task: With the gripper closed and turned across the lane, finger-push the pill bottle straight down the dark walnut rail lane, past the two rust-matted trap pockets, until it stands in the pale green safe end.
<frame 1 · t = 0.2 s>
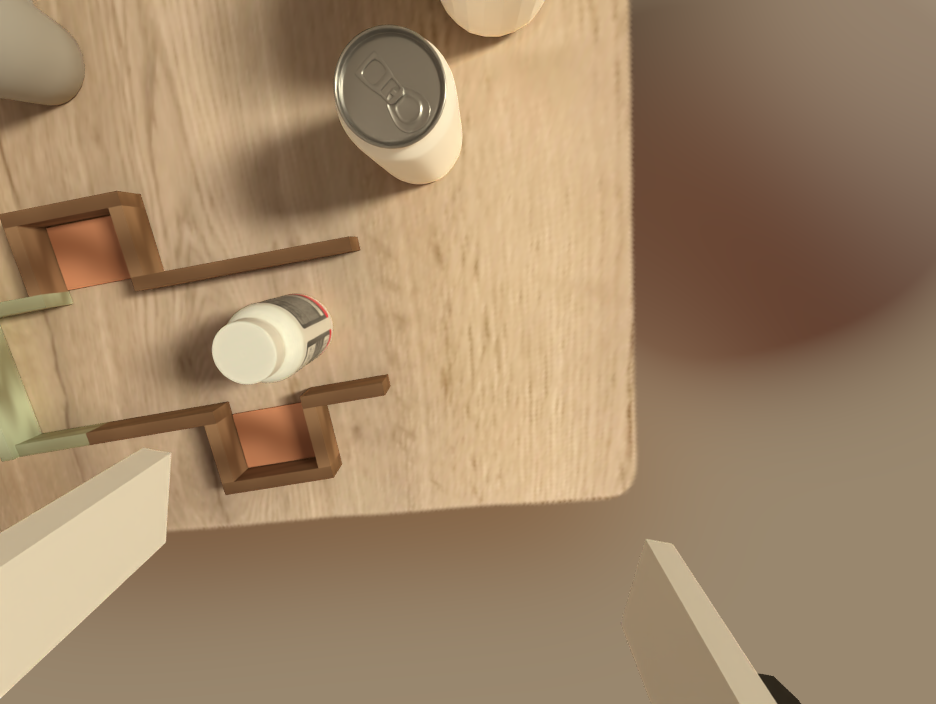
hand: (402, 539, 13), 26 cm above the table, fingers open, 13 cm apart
can: (419, 139, 36), on the table
pill bottle: (302, 326, 39), on the table
cup 2: (48, 46, 35), on the table
trap lane: (193, 346, 40), on the table
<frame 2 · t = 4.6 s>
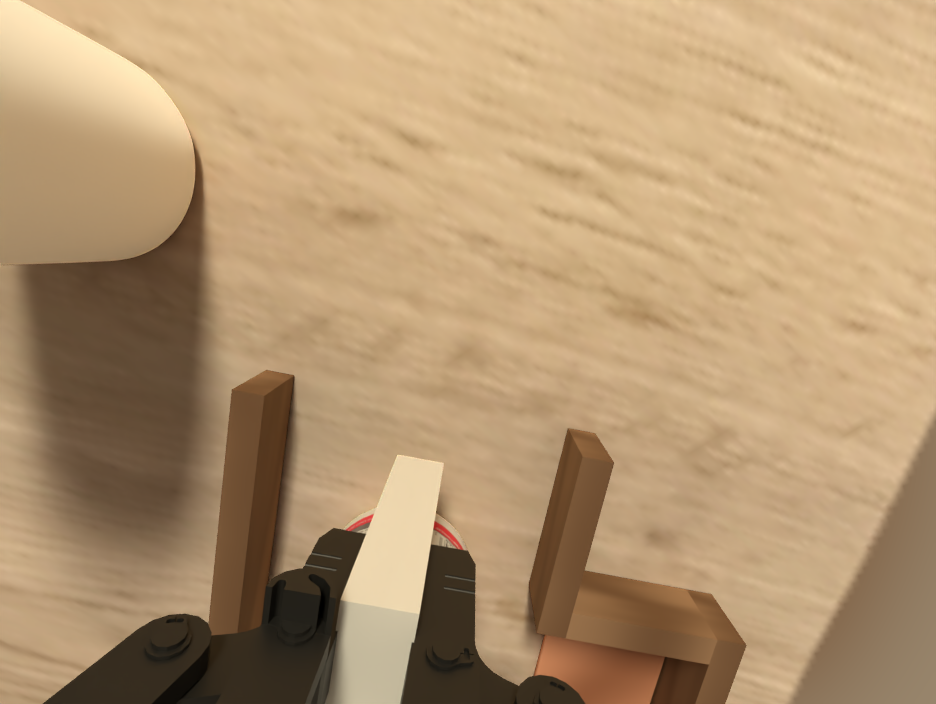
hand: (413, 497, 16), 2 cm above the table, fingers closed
can: (110, 162, 16), on the table
pill bottle: (403, 559, 19), on the table, touching gripper
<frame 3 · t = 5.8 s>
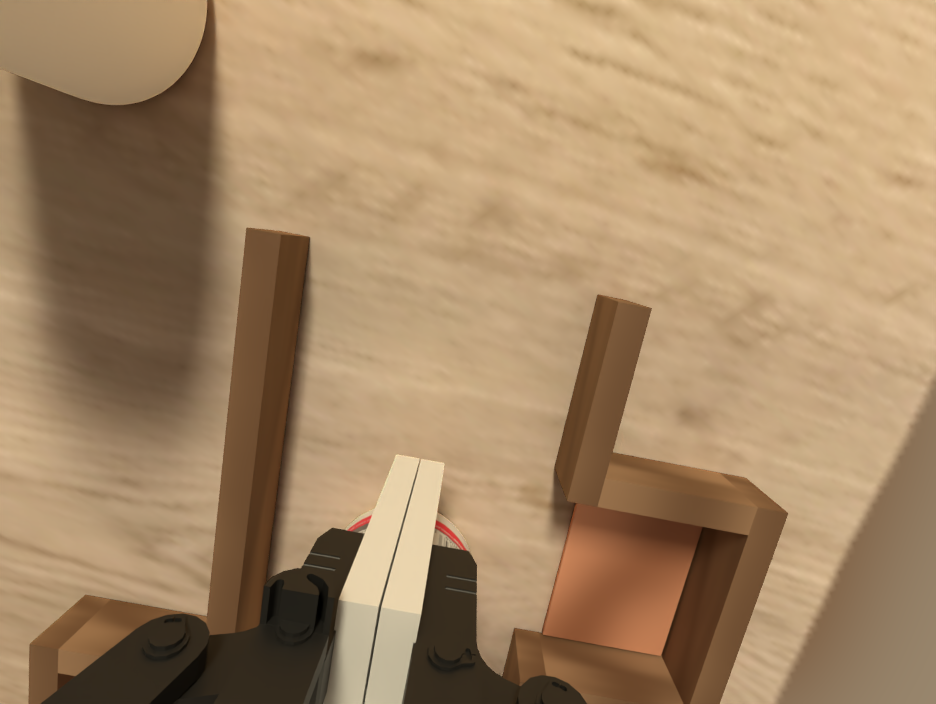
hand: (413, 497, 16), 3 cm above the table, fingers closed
can: (116, 1, 15), on the table
pill bottle: (405, 558, 19), on the table, touching gripper
trap lane: (384, 637, 20), on the table
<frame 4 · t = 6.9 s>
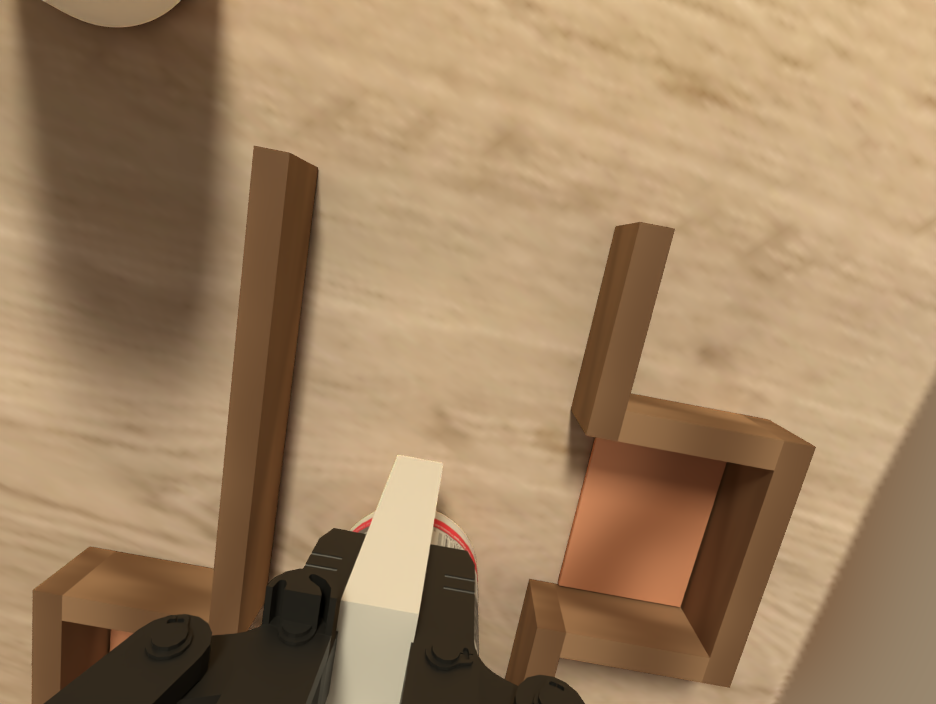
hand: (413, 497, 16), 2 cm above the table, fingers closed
pill bottle: (409, 559, 19), on the table, touching gripper
trap lane: (396, 589, 19), on the table
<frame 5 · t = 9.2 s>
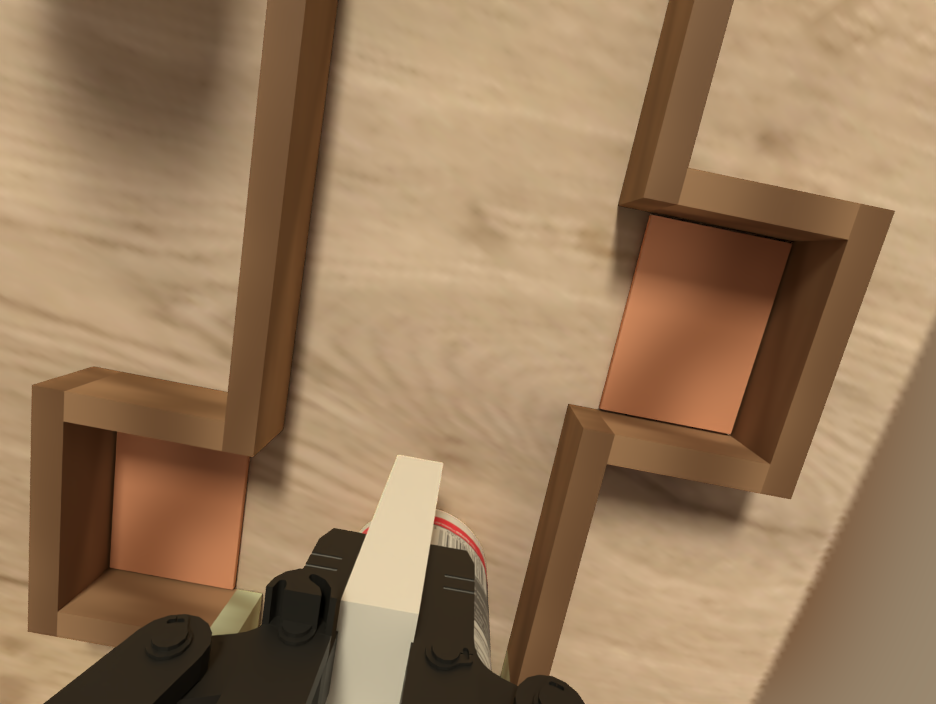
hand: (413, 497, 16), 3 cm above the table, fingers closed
pill bottle: (419, 560, 19), on the table, touching gripper
trap lane: (424, 416, 18), on the table
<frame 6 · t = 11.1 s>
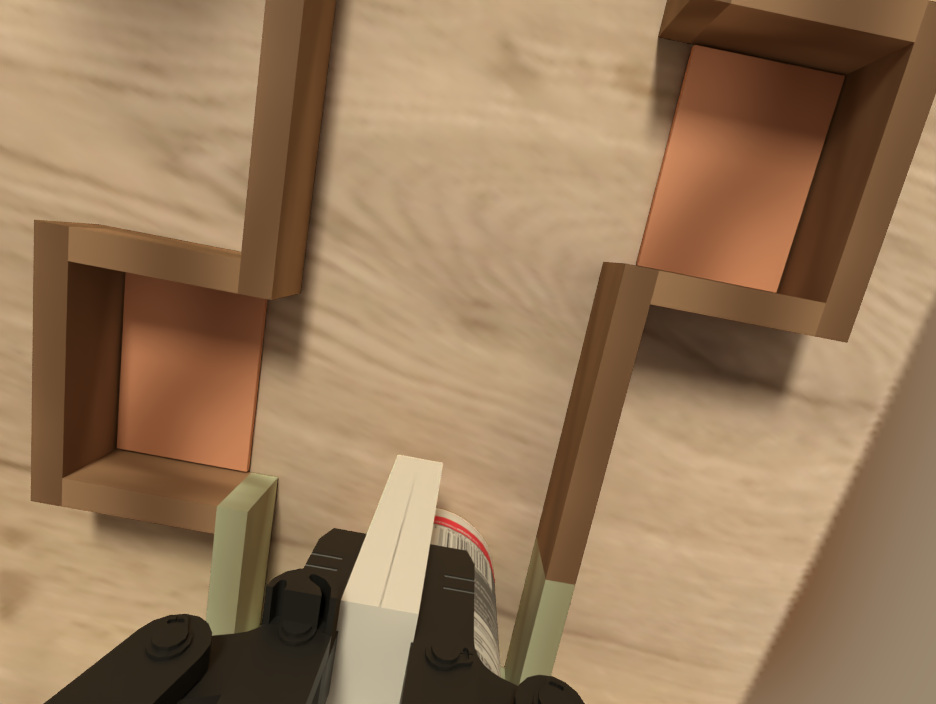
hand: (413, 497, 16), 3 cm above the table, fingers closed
pill bottle: (425, 561, 19), on the table, touching gripper
trap lane: (450, 277, 17), on the table
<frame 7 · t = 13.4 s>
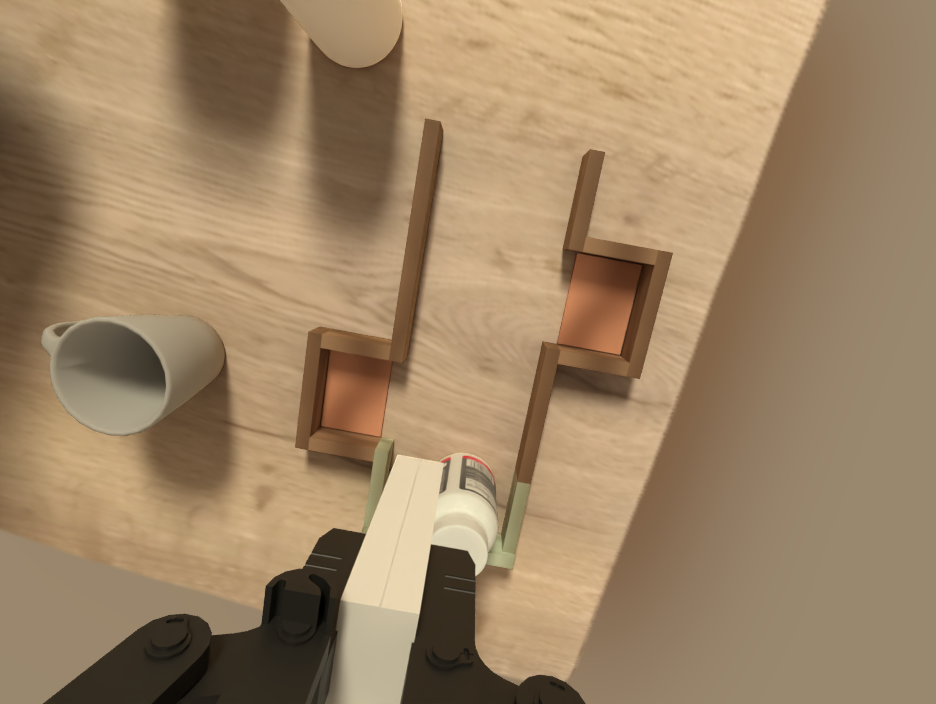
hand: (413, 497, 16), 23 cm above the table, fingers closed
can: (357, 19, 34), on the table
pill bottle: (462, 480, 40), on the table
cup 2: (177, 344, 39), on the table
trap lane: (474, 348, 38), on the table
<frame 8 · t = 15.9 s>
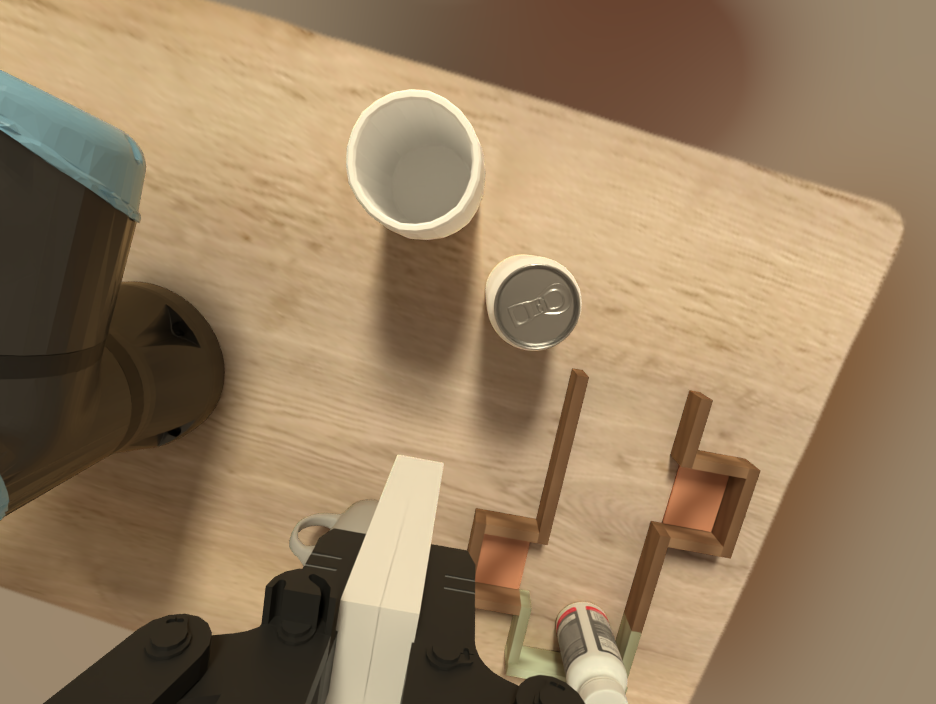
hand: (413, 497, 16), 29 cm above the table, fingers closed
can: (521, 291, 44), on the table
cup: (435, 191, 42), on the table
pill bottle: (581, 620, 51), on the table
cup 2: (360, 518, 49), on the table
trap lane: (597, 525, 48), on the table
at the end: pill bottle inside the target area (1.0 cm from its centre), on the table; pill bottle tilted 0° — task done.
